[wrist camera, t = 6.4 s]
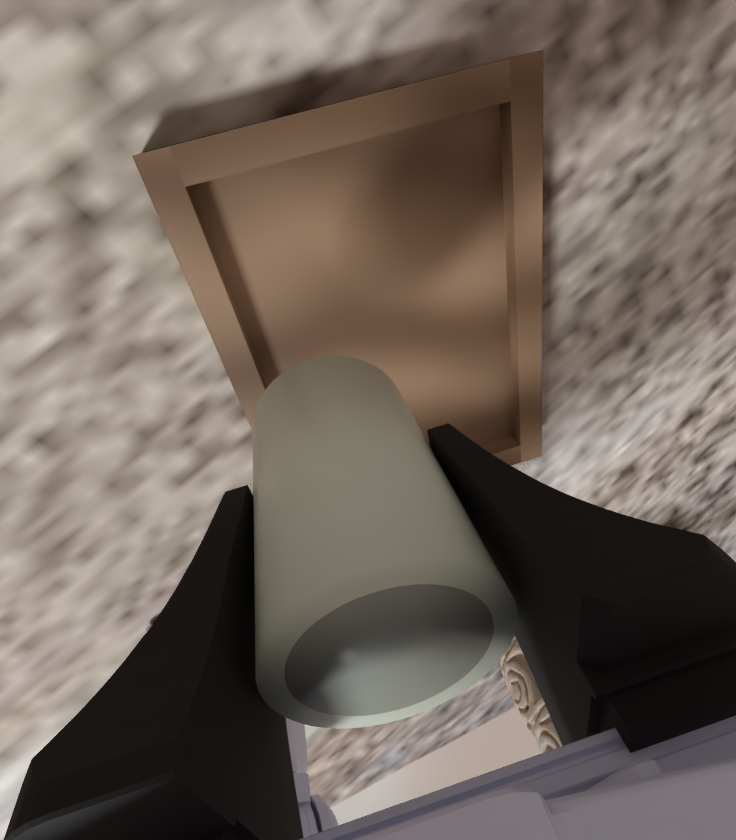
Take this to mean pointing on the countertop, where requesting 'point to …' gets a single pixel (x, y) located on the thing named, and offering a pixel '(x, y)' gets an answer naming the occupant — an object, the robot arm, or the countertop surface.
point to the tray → (378, 245)
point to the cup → (363, 556)
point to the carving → (528, 698)
